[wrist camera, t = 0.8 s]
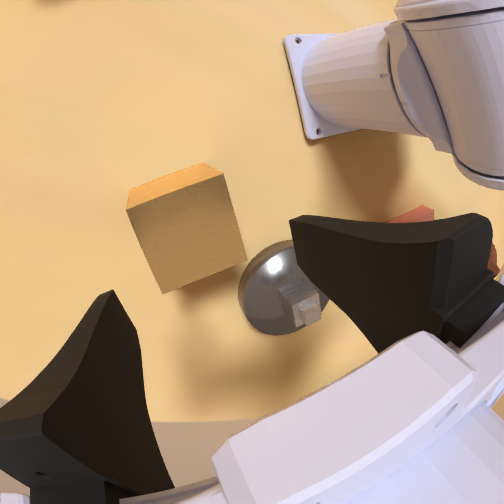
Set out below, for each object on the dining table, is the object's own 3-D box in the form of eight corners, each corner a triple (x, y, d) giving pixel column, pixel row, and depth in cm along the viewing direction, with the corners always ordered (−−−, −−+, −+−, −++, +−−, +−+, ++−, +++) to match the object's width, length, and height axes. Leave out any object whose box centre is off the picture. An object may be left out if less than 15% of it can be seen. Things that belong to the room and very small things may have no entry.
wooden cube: (202, 162, 18) (223, 173, 14) (223, 230, 21) (247, 260, 16) (129, 189, 17) (125, 210, 13) (156, 256, 20) (162, 294, 15)
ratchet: (422, 184, 26) (458, 196, 22) (420, 250, 30) (451, 267, 26) (225, 263, 22) (248, 296, 18) (250, 337, 26) (272, 374, 22)
